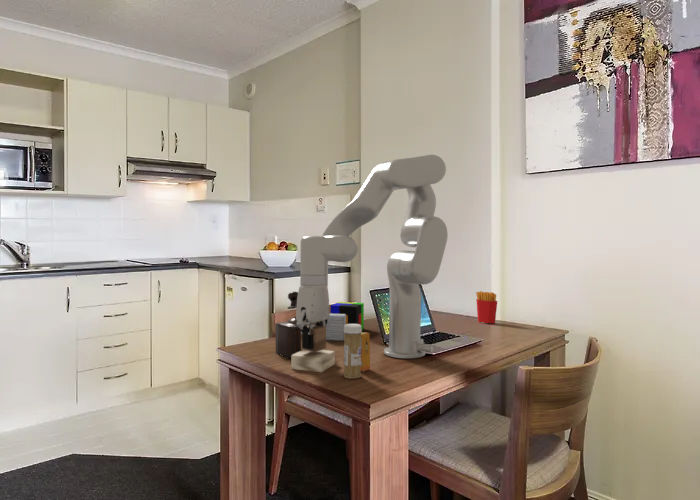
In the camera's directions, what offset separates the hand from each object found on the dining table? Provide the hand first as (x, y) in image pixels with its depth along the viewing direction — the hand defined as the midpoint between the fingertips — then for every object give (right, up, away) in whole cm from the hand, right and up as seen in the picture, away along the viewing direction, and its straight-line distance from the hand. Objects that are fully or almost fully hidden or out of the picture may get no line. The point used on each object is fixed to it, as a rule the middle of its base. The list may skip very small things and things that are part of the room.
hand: (313, 345), depth 135 cm
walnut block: (0, -1, 0) cm, 1 cm away
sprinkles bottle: (+11, -6, -9) cm, 16 cm away
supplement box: (+13, -6, -3) cm, 15 cm away
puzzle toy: (+9, -4, +50) cm, 51 cm away
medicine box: (+5, -5, +34) cm, 35 cm away
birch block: (0, -6, 0) cm, 6 cm away
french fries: (+66, -4, +68) cm, 95 cm away
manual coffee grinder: (-7, -5, +16) cm, 18 cm away
